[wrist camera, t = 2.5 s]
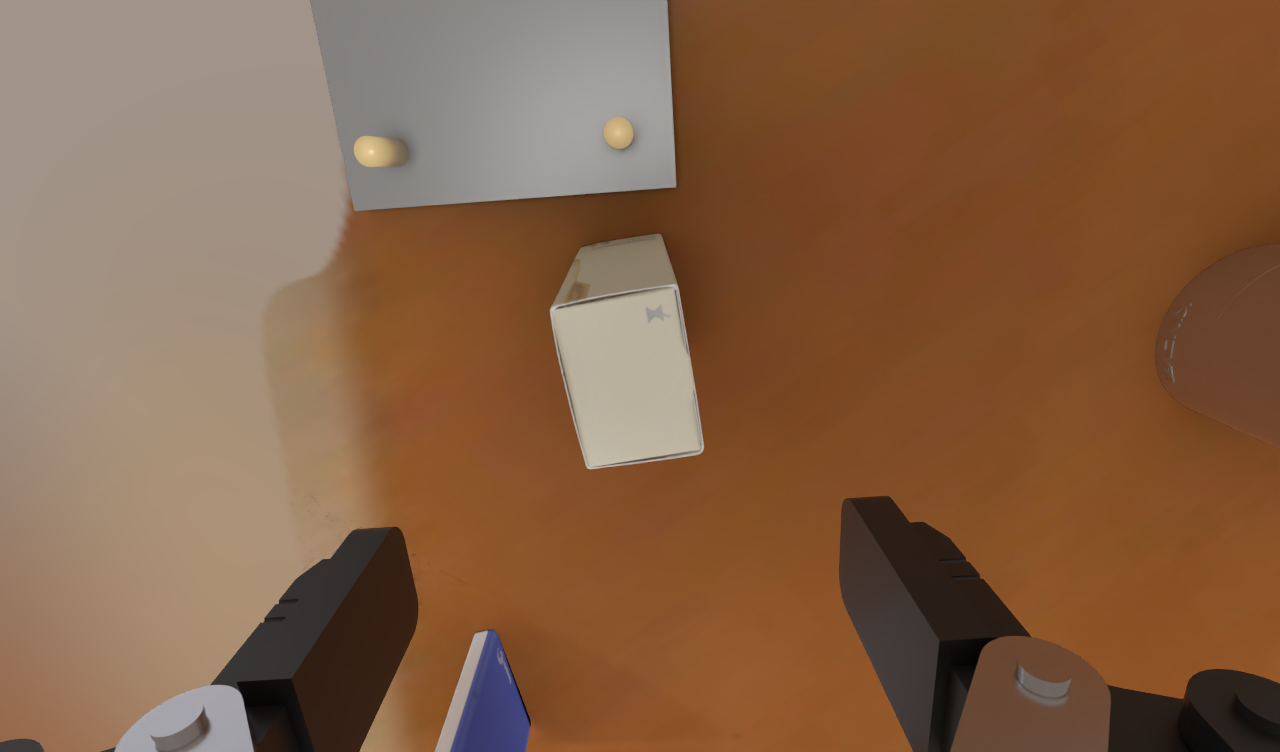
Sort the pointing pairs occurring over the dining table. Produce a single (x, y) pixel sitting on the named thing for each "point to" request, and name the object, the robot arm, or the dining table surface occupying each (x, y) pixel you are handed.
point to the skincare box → (626, 355)
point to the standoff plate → (498, 98)
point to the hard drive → (486, 703)
